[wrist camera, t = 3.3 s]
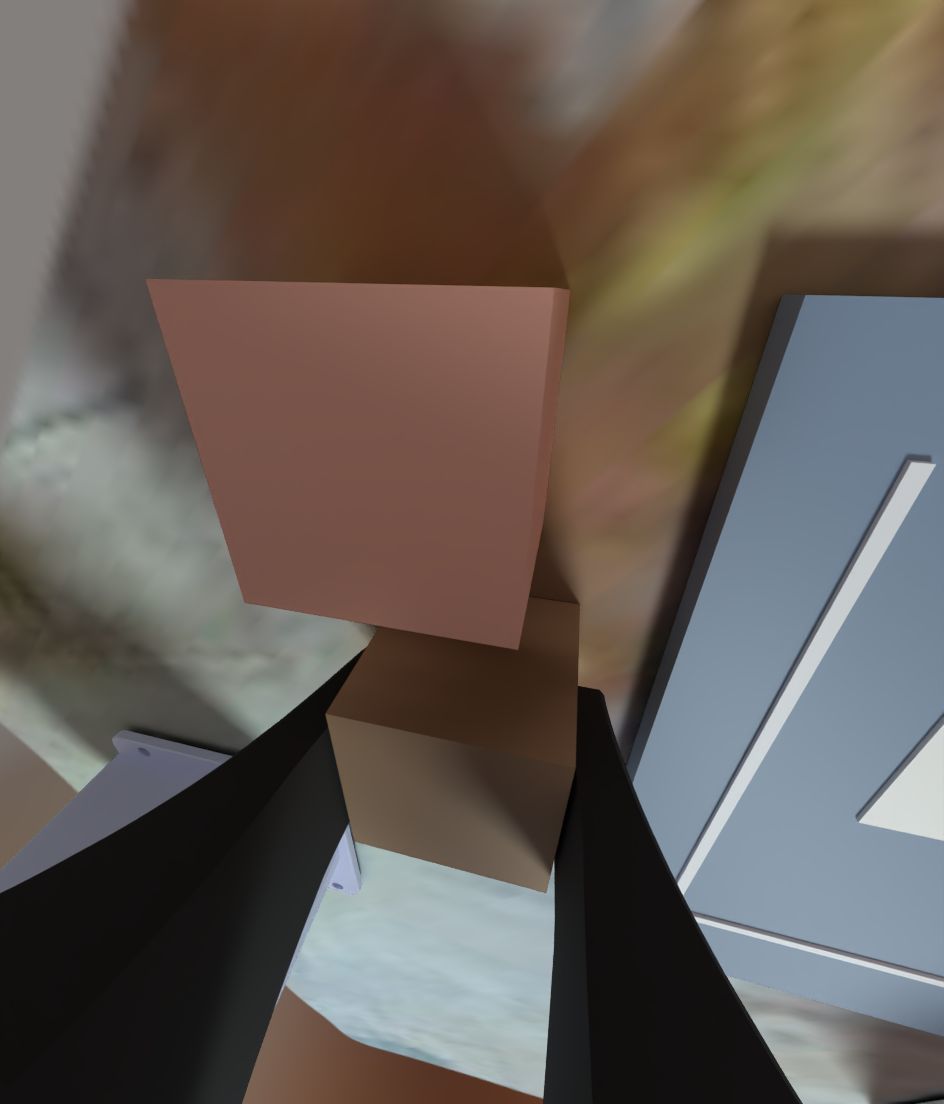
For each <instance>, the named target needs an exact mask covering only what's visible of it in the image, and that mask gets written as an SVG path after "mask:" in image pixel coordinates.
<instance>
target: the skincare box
mask: <svg viewBox="0 0 944 1104" xmlns="http://www.w3.org/2000/svg"><path fill="white" fill-rule="evenodd" d="M916 1104H944V1099H942V1100H935V1101H929V1102H922V1103H916Z"/></svg>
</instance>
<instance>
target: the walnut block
mask: <svg viewBox="0 0 944 1104" xmlns="http://www.w3.org/2000/svg"><path fill="white" fill-rule="evenodd" d="M579 617H580V604H574V603H568V602H561V601H554V600H548V599H541V598H534V597H529V598H528V603H527V608H526V613H525V618H524V623H523V628H522V633H521V638H520V643H519V648H518V650H516V649H510V648H504V647H499V646H493V645H487V644H481V643H475V642H470V641H464V640H458V639H452V638H446V637H441V636H435V635H429V634H423V633H417V632H412V631H406V630H400V629H394V628H388V627H383V626H380V627H379V628H378V630H377V632H376V633H375V635H374V636H373V638H372V640H371V641H370V643H369V644H368V646H367V648H366V649H365V651H364V653H363V654H362V656H361V657H360V659H359V661H358V662H357V664H356V665H355V667H354V669H353V670H352V672H351V673H350V675H349V677H348V678H347V680H346V681H345V683H344V685H343V686H342V688H341V689H340V691H339V693H338V694H337V696H336V698H335V699H334V701H333V702H332V704H331V706H330V707H329V709H328V710H327V712H326V719H327V723H328V728H329V732H330V736H331V741H332V745H333V750H334V754H335V758H336V763H337V767H338V772H339V776H340V780H341V785H342V789H343V794H344V798H345V803H346V807H347V811H348V816H349V820H350V825H351V829H352V833H353V838H354V841H355V842H359V843H362V844H366V845H370V846H373V847H377V848H381V849H385V850H388V851H392V852H396V853H399V854H403V855H407V856H411V857H414V858H418V859H422V860H425V861H429V862H433V863H437V864H440V865H444V866H448V867H451V868H455V869H459V870H463V871H466V872H470V873H474V874H477V875H481V876H485V877H489V878H492V879H496V880H500V881H503V882H507V883H511V884H515V885H518V886H522V887H526V888H529V889H533V890H537V891H541V892H544V893H546V892H547V888H548V884H549V879H550V875H551V871H552V866H553V862H554V858H555V854H556V849H557V845H558V841H559V837H560V832H561V828H562V824H563V819H564V815H565V811H566V807H567V802H568V798H569V794H570V790H571V785H572V781H573V777H574V772H575V768H576V733H577V694H578V656H579Z"/></svg>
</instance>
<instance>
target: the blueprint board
mask: <svg viewBox="0 0 944 1104" xmlns="http://www.w3.org/2000/svg"><path fill="white" fill-rule="evenodd" d="M626 769H627V771H628V774H629V776H630V779H631V781H632V784H633V786H634V789H635V791H636V794H637V796H638V799H639V801H640V804H641V806H642V808H643V811H644V813H645V815H646V818H647V820H648V822H649V825H650V827H651V829H652V831H653V834H654V836H655V838H656V840H657V842H658V845H659V847H660V849H661V851H662V853H663V855H664V858H665V860H666V862H667V864H668V866H669V868H670V870H671V872H672V874H673V876H674V878H675V880H676V882H677V884H678V886H679V888H680V890H681V892H682V894H683V896H684V898H685V900H686V902H687V904H688V906H689V908H690V910H691V912H692V914H693V916H694V917H695V919H696V921H697V923H698V925H699V927H700V929H701V931H702V933H703V934H704V936H705V938H706V940H707V942H708V944H709V945H710V947H711V949H712V951H713V953H714V955H715V956H716V958H717V960H718V962H719V964H720V966H721V967H722V969H723V971H724V973H725V975H727V976H730V977H734V978H737V979H741V980H744V981H748V982H751V983H755V984H759V985H762V986H766V987H769V988H773V989H776V990H780V991H783V992H787V993H791V994H794V995H798V996H801V997H805V998H808V999H812V1000H815V1001H819V1002H822V1003H826V1004H830V1005H833V1006H837V1007H840V1008H844V1009H847V1010H851V1011H854V1012H858V1013H862V1014H865V1015H869V1016H872V1017H876V1018H879V1019H883V1020H886V1021H890V1022H893V1023H897V1024H901V1025H904V1026H908V1027H911V1028H915V1029H918V1030H922V1031H925V1032H929V1033H933V1034H936V1035H940V1036H943V1037H944V298H921V297H877V296H833V295H782V298H781V301H780V304H779V307H778V310H777V313H776V316H775V319H774V322H773V325H772V328H771V331H770V334H769V337H768V340H767V343H766V346H765V349H764V352H763V355H762V358H761V361H760V364H759V367H758V370H757V373H756V376H755V379H754V382H753V385H752V388H751V391H750V394H749V397H748V400H747V403H746V406H745V409H744V412H743V415H742V418H741V421H740V424H739V427H738V430H737V434H736V437H735V440H734V443H733V446H732V449H731V452H730V455H729V458H728V461H727V464H726V467H725V470H724V473H723V476H722V479H721V482H720V485H719V488H718V491H717V494H716V497H715V500H714V503H713V506H712V509H711V512H710V515H709V518H708V521H707V524H706V527H705V530H704V533H703V536H702V539H701V542H700V545H699V548H698V551H697V554H696V557H695V560H694V563H693V566H692V569H691V572H690V576H689V579H688V582H687V585H686V588H685V591H684V594H683V597H682V600H681V603H680V606H679V609H678V612H677V615H676V618H675V621H674V624H673V627H672V630H671V633H670V636H669V639H668V642H667V645H666V648H665V651H664V654H663V657H662V660H661V663H660V666H659V669H658V672H657V675H656V678H655V681H654V684H653V687H652V690H651V693H650V696H649V699H648V702H647V705H646V708H645V711H644V714H643V717H642V721H641V724H640V727H639V730H638V733H637V736H636V739H635V742H634V745H633V748H632V751H631V754H630V757H629V760H628V763H627V766H626Z"/></svg>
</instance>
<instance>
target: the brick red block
mask: <svg viewBox="0 0 944 1104" xmlns="http://www.w3.org/2000/svg"><path fill="white" fill-rule="evenodd" d="M145 280H146V283H147V287H148V290H149V293H150V296H151V300H152V303H153V306H154V309H155V313H156V316H157V319H158V322H159V326H160V329H161V332H162V335H163V339H164V342H165V345H166V348H167V352H168V355H169V358H170V361H171V365H172V368H173V371H174V374H175V378H176V381H177V384H178V387H179V391H180V394H181V397H182V400H183V404H184V407H185V410H186V413H187V417H188V420H189V423H190V426H191V430H192V433H193V436H194V439H195V443H196V446H197V449H198V452H199V456H200V459H201V462H202V465H203V469H204V472H205V475H206V478H207V482H208V485H209V488H210V491H211V495H212V498H213V501H214V504H215V508H216V511H217V514H218V517H219V521H220V524H221V527H222V530H223V533H224V537H225V540H226V543H227V546H228V550H229V553H230V556H231V559H232V563H233V566H234V569H235V572H236V576H237V579H238V582H239V585H240V589H241V592H242V595H243V598H244V602H245V603H250V604H255V605H261V606H267V607H273V608H278V609H284V610H290V611H296V612H302V613H307V614H313V615H319V616H325V617H331V618H336V619H342V620H348V621H354V622H360V623H365V624H371V625H377V626H383V627H388V628H394V629H400V630H406V631H412V632H417V633H423V634H429V635H435V636H441V637H446V638H452V639H458V640H464V641H470V642H475V643H481V644H487V645H493V646H499V647H504V648H510V649H516V650H518V648H519V643H520V638H521V633H522V628H523V623H524V618H525V613H526V608H527V603H528V598H529V592H530V587H531V582H532V577H533V572H534V567H535V562H536V557H537V552H538V547H539V542H540V536H541V531H542V526H543V521H544V515H545V506H546V497H547V489H548V480H549V472H550V463H551V454H552V446H553V437H554V429H555V420H556V411H557V403H558V394H559V386H560V377H561V368H562V360H563V351H564V343H565V334H566V326H567V317H568V308H569V300H570V291H571V290H569V289H561V288H548V287H503V286H457V285H411V284H366V283H320V282H274V281H229V280H183V279H145Z"/></svg>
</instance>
